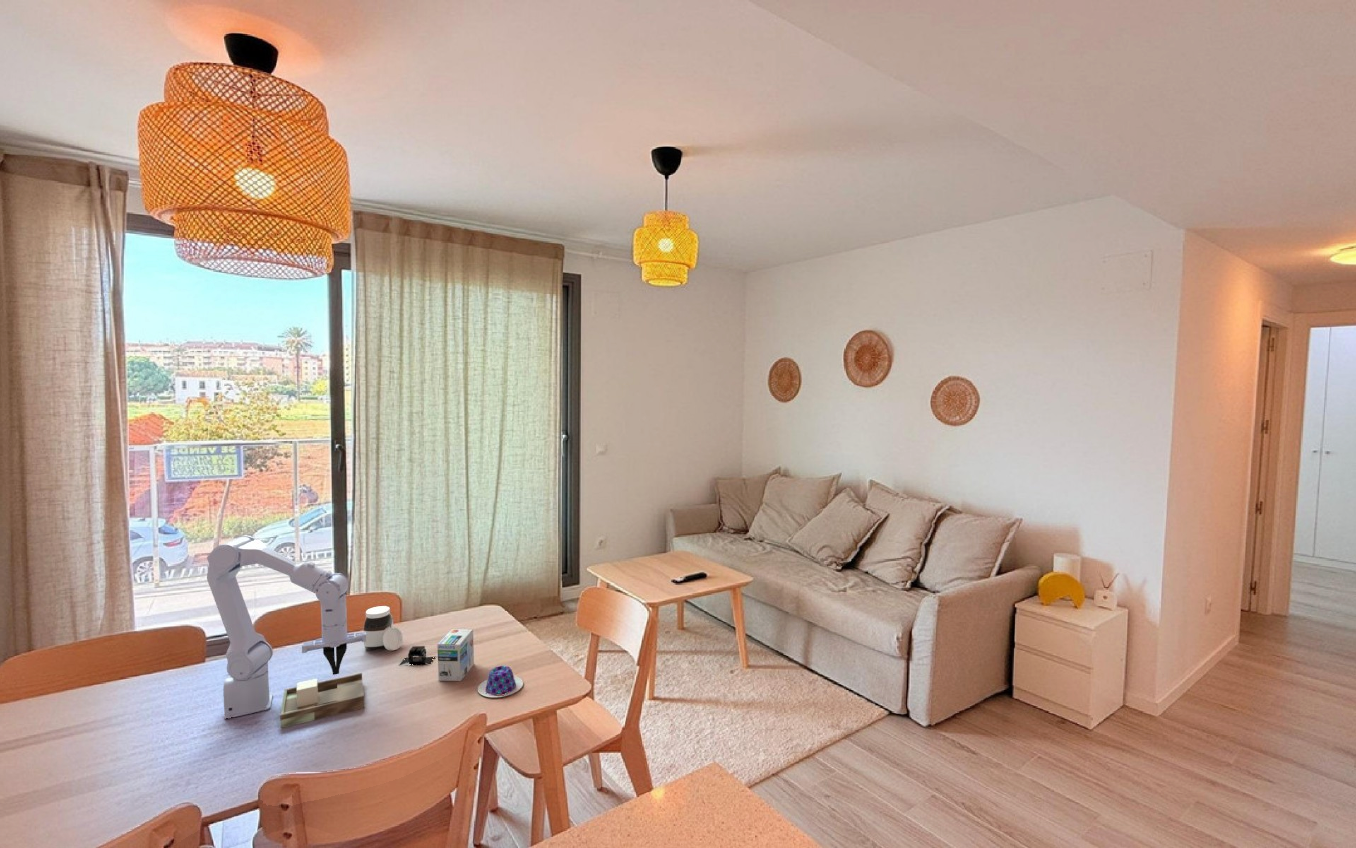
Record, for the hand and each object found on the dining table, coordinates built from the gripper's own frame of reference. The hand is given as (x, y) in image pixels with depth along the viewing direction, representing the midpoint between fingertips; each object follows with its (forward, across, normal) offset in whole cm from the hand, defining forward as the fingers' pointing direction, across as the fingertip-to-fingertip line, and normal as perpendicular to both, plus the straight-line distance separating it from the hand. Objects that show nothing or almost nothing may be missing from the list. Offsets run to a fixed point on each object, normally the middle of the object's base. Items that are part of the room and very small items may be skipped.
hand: (335, 672), depth 156 cm
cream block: (+6, -6, 0) cm, 9 cm away
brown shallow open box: (+8, -3, 0) cm, 8 cm away
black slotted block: (+8, +21, +14) cm, 27 cm away
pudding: (+8, +39, -14) cm, 42 cm away
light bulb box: (+8, +30, +1) cm, 31 cm away
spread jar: (+8, +13, +30) cm, 34 cm away
